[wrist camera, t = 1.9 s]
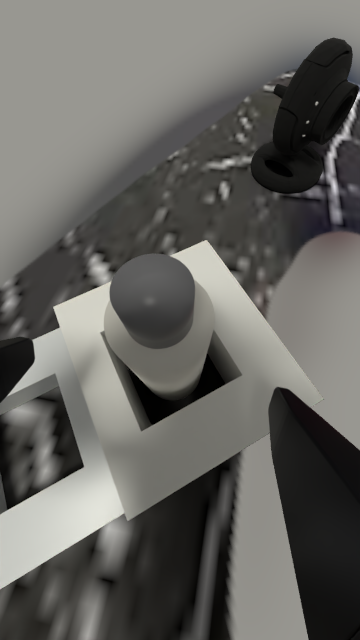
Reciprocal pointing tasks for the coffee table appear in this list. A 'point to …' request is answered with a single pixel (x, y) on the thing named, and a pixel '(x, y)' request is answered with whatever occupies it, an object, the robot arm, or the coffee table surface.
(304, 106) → the webcam
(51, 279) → the coffee table surface
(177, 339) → the plug
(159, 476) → the jack housing
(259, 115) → the coffee table surface
